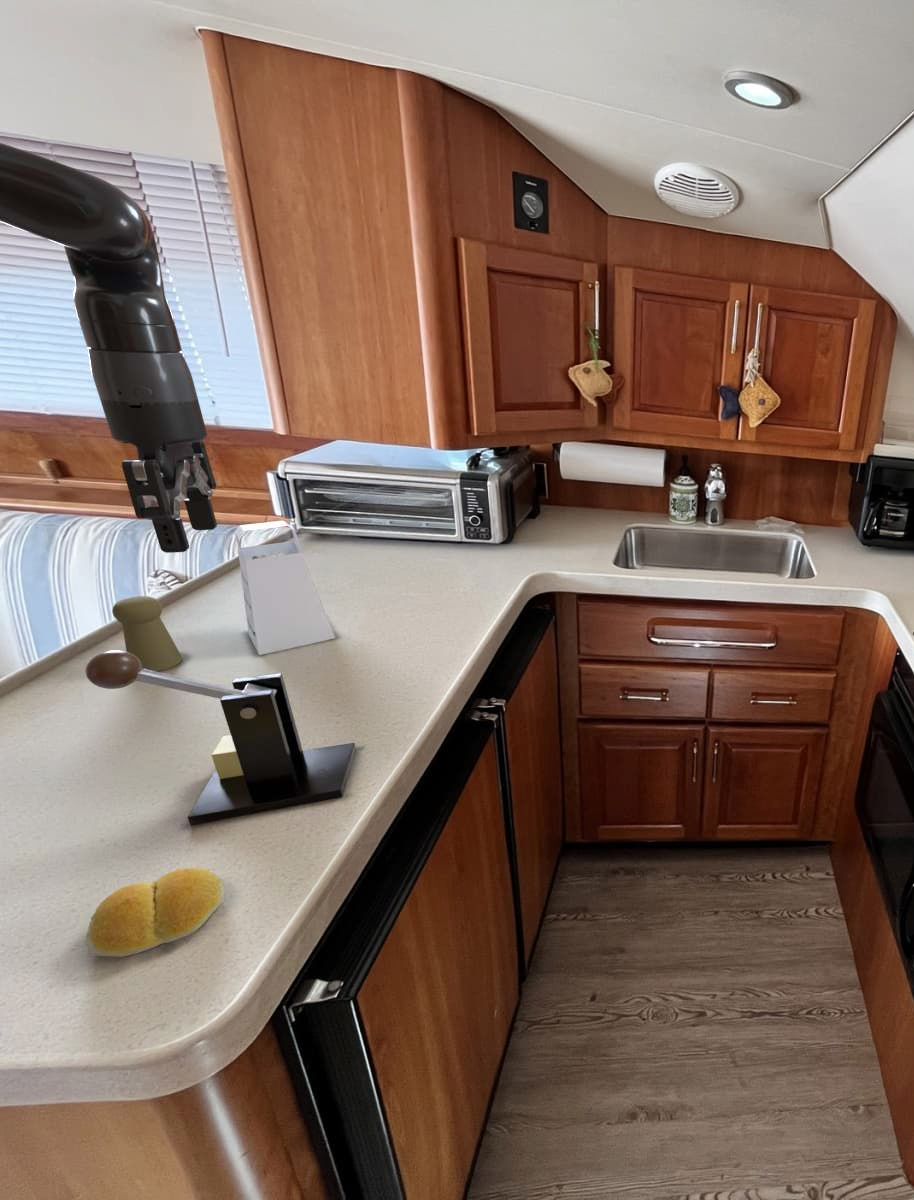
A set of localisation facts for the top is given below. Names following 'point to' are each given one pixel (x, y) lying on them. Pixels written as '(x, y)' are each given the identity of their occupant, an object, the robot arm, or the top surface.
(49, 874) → the top surface
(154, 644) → the cork
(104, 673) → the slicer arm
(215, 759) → the butter
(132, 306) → the robot arm
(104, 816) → the top surface
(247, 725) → the slicer
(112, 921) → the bread roll
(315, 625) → the grater
